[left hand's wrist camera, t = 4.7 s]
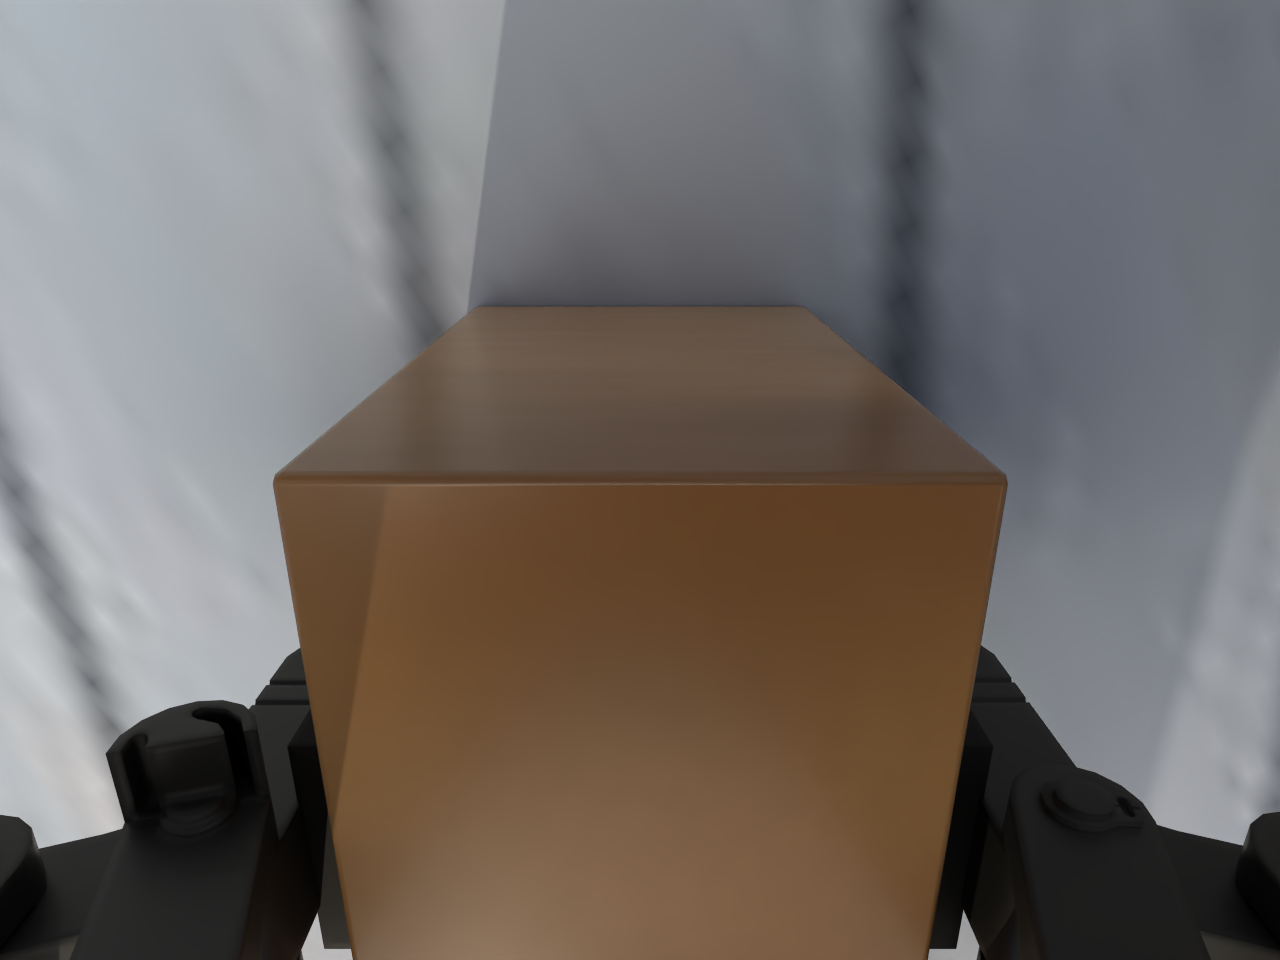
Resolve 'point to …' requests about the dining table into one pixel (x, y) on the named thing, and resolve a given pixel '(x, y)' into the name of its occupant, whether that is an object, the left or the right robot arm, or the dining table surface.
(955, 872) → the left robot arm
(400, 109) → the dining table surface
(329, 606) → the bar
